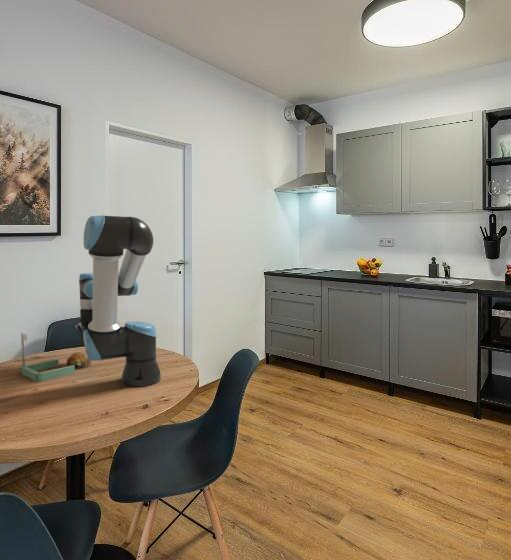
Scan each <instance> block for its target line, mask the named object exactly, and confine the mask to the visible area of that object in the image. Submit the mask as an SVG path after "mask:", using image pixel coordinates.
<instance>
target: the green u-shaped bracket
mask: <svg viewBox="0 0 511 560" xmlns="http://www.w3.org/2000/svg"><path fill="white" fill-rule="evenodd" d="M20 337H21V341H20V342H21V359H22V363H21V364H22V365H20V367H19V369H20V371H19V372H20V375H23V376H24V375H25V376H24V377H26V376H27V377H26V378H28V377H29V379H30V380H31V381H35V382H36V383H41V382H44V381H45V382H46V381H48V380H52V379H56V378H60V377H65V376H69V375H73V374H75V373H76V369H75V366H73V365H72V366H68V367H67V366H64V367H60V368H56V367H59V358H54V359H49V360H45V361H39V362H35V363H30V364H25V344H24V343H25V342H27V341H28V335H27V334H25V333H24V332H21V333H20ZM51 368H55V369H52V370H51ZM46 369H50V370H47V371H44V370H46ZM42 370H43V371H44V372H39V371H42Z"/></svg>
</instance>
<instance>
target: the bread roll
mask: <svg viewBox="0 0 511 560" xmlns="http://www.w3.org/2000/svg"><path fill="white" fill-rule="evenodd" d="M91 363H92V361H91V360H90V359H89V358H88V356H87V353H86V352H83V351H79V352H74V353H72V354H71V355H70V356H69V357H68V358H67V359H66V367H68V366H72V365H73V366H75V370H82V368H83V369H86V368H88V366H89V367H90V366H91Z"/></svg>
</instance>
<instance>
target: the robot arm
mask: <svg viewBox="0 0 511 560" xmlns="http://www.w3.org/2000/svg"><path fill="white" fill-rule="evenodd" d="M153 246H154V235H153V231H152V230H151V229H150V227H149V226H148V224H147V222H145V221H144V220H142V219H140V218H138V217H135V216H121V215H120V216H118V215H116V216H115V215H91V216H89V217H88V218H87V220H86V223H85V226H84V231H83V247H84V249H85V250H88V255H89V256H90V257H91V258H92V272H87V273H86V272H84V273H80V274H79V276H78V277H79V278H78V283H79V307H80V309H79V313H80V315H79V316H80V320H79V323H77V324H75V325H74V328H75V329H76V331H77V335H78V340H79V342H80V344H81V346H84V348H85V354H87V356H88V358H89V359H90V360H91V362H95V361H105V360H112V359H119V358H125V364H124V366H123V370H122V374H121V377H120V378H121V384H122V385H124V386H129V387H147V386H152V385H155V384H157V383H159V382H160V381H161V380H162V379H161V377H162V376H161V375H162V374H161V371H160V367H159V365H158V362H157V330H156V329H157V328H156V326H155V325H154V324H153V323H150V322H144V321H125V323H124V326H122V323H120V322H119V321H118V297H124V296H125V297H129V296H135V295H137V294H138V291H139V282H138V280H137V278H138V276H139V273H140V271H141V269H142V266H143V264H144V262H145V260H146V259H145V258H146V257H147V255H149V254H150V253H151V251H152V249H153ZM124 250H125V254H124ZM123 256H124V257H123ZM121 257H123V259H122V263H121V265H120V268H119V259H121Z"/></svg>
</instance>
